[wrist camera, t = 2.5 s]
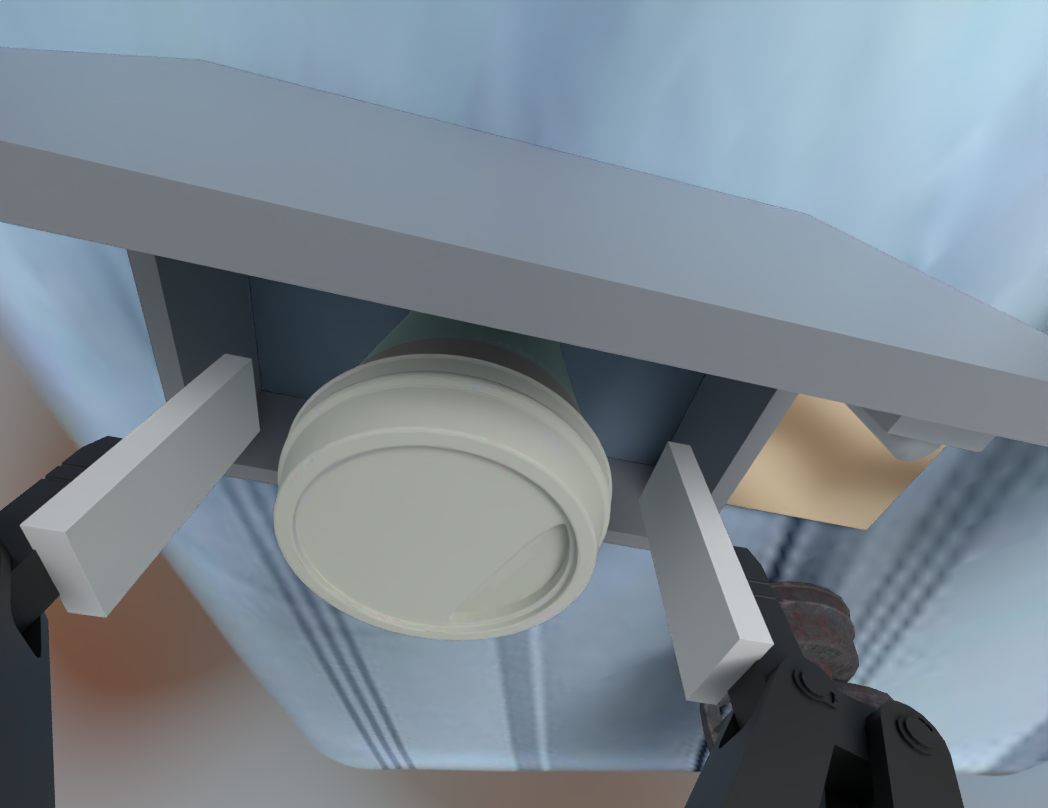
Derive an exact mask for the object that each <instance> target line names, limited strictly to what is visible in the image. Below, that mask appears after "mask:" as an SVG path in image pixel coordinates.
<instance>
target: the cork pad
mask: <svg viewBox="0 0 1048 808" xmlns="http://www.w3.org/2000/svg"><path fill="white" fill-rule="evenodd" d="M945 447H946V445H941V446H940V447H939V448H938V449H937V450H936V451H935V452H933V453H932V454H930V455H928V456H926V457H924V458H921V459H918V460H913V461H903V460H899V459H897V458H896V457H894V456H893V454H892V453H891V452H890V451H889V450H888V449H887V448H886V447H885V446H884V445H883V444H882V443H881V442H880V441H879V440H878V438H877V437H876V436H875V435H874V434H873V433H872V432H871V431H870V430H869V429H868V428H867V427H866V426H865V425H864V424H863V422H862V421H861V420H860V419H859V418H858V417H857V416H856V415H855V414H854V413H853V412H852V411H851V410H850V409H849V407H848V406H847V405H846V404H845V403H841V402H836V401H832V400H827V399H822V398H818V397H813V396H808V395H804V394H798V396H797V397H796V399H795V400H794V402H793V403H792V405H791V406H790V408H789V409H788V411H787V412H786V414H785V415H784V417H783V418H782V420H781V421H780V423H779V424H778V426H777V427H776V429H775V430H774V432H773V433H772V435H771V436H770V438H769V439H768V441H767V442H766V444H765V445H764V447H763V448H762V450H761V451H760V453H759V454H758V456H757V457H756V459H755V461H754V462H753V464H752V465H751V467H750V468H749V470H748V471H747V473H746V474H745V476H744V477H743V479H742V480H741V482H740V483H739V485H738V486H737V488H736V489H735V491H734V492H733V494H732V495H731V497H730V498H729V500H728V501H727V503H726V504H730V505H735V506H741V507H746V508H751V509H757V510H762V511H767V512H773V513H778V514H783V515H788V516H794V517H799V518H804V519H810V520H815V521H820V522H826V523H831V524H836V525H842V526H847V527H852V528H858V529H863V530H867V529H868V528H869V527H870V526H871V525H872V523H873V522H874V521H875V520H876V519H877V518H878V517H879V516H880V515H881V514H882V513H883V512H884V511H885V510H886V509H887V508H888V507H889V506H890V505H891V503H892V502H893V501H894V500H895V499H896V498H897V497H898V496H899V495H900V494H901V493H902V492H903V491H904V490H905V489H906V488H907V487H908V486H909V485H910V483H911V482H912V481H913V480H914V479H915V478H916V477H917V476H918V475H919V474H920V473H921V472H922V471H923V470H924V469H925V468H926V467H927V466H928V465H929V463H930V462H931V461H932V460H933V459H934V458H935V457H936V456H937V455H938V454H939V453H940V452H941V451H942V450H943V449H944V448H945Z"/></svg>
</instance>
